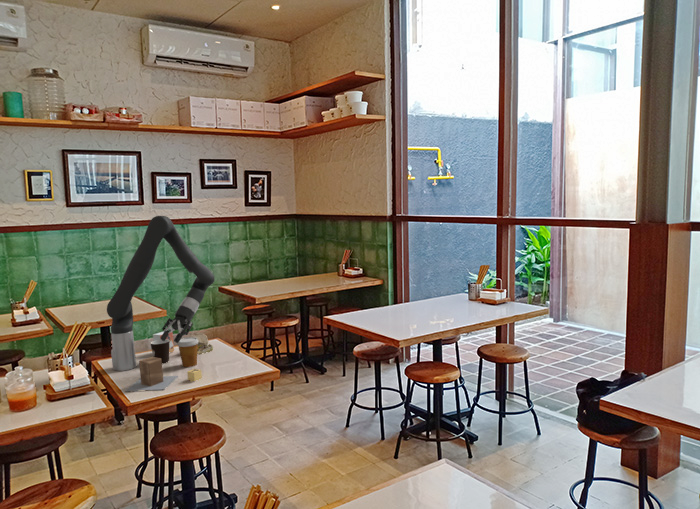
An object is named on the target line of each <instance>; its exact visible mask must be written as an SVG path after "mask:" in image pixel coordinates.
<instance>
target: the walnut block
mask: <svg viewBox="0 0 700 509" xmlns="http://www.w3.org/2000/svg"><path fill="white" fill-rule="evenodd" d="M138 362H139V364H138V365H139V374H140V378H141V384H142V385H147V386H154V385H156V384H159V383H161V382H164V381H163V376H164V373H163V372H164V371H163V364H162V360H161V358H156V357H153V356H150V357H147V358H144V359H141V360H139V361H138Z"/></svg>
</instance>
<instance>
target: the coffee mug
mask: <svg viewBox="0 0 700 509" xmlns="http://www.w3.org/2000/svg"><path fill="white" fill-rule="evenodd" d="M169 343H170V340H168V339H166V340H165V341H162V340H161V339H160V340H155V341H151V342H150V348H151V352H152V357H156V358H161V360H162V363H165V364H167V363H169V362H168V361H170V353H169ZM166 362H167V363H166Z"/></svg>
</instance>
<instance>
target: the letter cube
mask: <svg viewBox="0 0 700 509" xmlns="http://www.w3.org/2000/svg"><path fill="white" fill-rule="evenodd" d="M202 376H203V375H202V369H197V368H194V369H190V370H187V381H188V380H190V381H189V382H192V381H196V380H198V381H200V380H199V379H201V378H202V379H203V377H202ZM202 379H201V380H202ZM196 382H197V381H196Z"/></svg>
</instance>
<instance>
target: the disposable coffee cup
mask: <svg viewBox="0 0 700 509" xmlns="http://www.w3.org/2000/svg"><path fill="white" fill-rule="evenodd" d="M198 342H199V341H198V339H197V338H195V337H190V336H189V337H183V338H181V339H180V341H179V342H178V343H176V345H177V346H178V350H179V355H180V360H181V364H182V367H183V368H191V367H194V366H197V364H198V355H197V350H198Z"/></svg>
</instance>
